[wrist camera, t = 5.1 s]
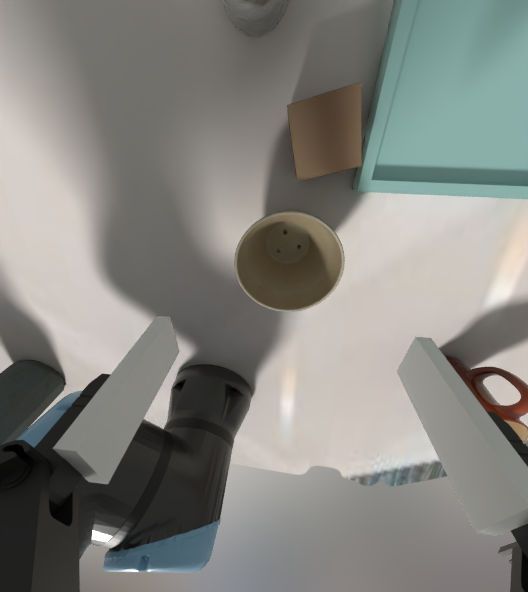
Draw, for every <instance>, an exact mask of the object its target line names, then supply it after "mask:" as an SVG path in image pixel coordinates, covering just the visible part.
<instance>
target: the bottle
mask: <svg viewBox="0 0 528 592" xmlns="http://www.w3.org/2000/svg"><path fill="white" fill-rule="evenodd" d="M63 390H64V379H63V377H62V376H61V375H59V374H58V373H57V372H56V371H55V370H54V369H52V368H50V367H48V366H46V365H44V364H42V363H40V362H36V361H32V360H29V361H20V362H16V363H13V364H12V365H11V366H9V367H8V368H7V369H5V370H4V371H3V372H2V373H0V446H1V445H3V444H5V443H8V442H11V441H14V440H16V439H17V438H18V437H19V436H20V435H21V434H22V433H24V432H25V431H26V430H27V429H28V427H29V426H30V425H31V424H32V423H33V422H34V421H35V420H36V419H37V418H38V417H39V416H40V415H41V414H42V412H43V411H44V410H45V409H46V408H47V407H48V406H49V405H50V404H51V403H52V402H53V401H54V400H55V399H56V397H57V396H58V395H59V394H60V393H61V392H62V391H63Z"/></svg>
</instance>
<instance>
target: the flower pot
mask: <svg viewBox="0 0 528 592" xmlns="http://www.w3.org/2000/svg"><path fill="white" fill-rule="evenodd" d="M284 231H285V234H284ZM298 245H300V247H299V246H298ZM279 251H280V253H278V252H279ZM234 265H235V273H236V277H237V279H238V282H239V284H240V286H241V287H242V289H243V290H244V292H245V293H246V294H247V295H248V296H249V297H250V298H251V299H252V300H254V301H255V302H256V303H258V304H260V305H262V306H264V307H266V308H269V309H272V310H276V311H283V312H294V311H300V310H305V309H308V308H310V307H313V306H315V305H317V304H319V303H320V302H322V301H323V300H324V299H326V298H327V297H328V296H329V295H330V294H331V293H332V292H333V291H334V289H335V288H336V287H337V285H338V283H339V281H340V279H341V277H342V274H343V270H344V251H343V247H342V244H341V242H340V240H339V238H338V236H337V235H336V233H335V232H334V231H333V230H332V229H331V228H330V227H329V226H328V225H327V224H326V223H325V222H323V221H322V220H320V219H319V218H317V217H315V216H313V215H311V214H308V213H305V212H301V211H294V210H287V211H279V212H275V213H272V214H269V215H267V216H265V217H263V218H262V219H260V220H259V221H257V222H256V223H255V224H253V225H252V226H251V227H250V228H249V229H248V230H247V231H246V232H245V234H244V235H243V237H242V238H241V240H240V242H239V244H238V246H237V249H236V253H235V261H234Z"/></svg>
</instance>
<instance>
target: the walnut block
mask: <svg viewBox="0 0 528 592" xmlns="http://www.w3.org/2000/svg"><path fill="white" fill-rule="evenodd" d="M287 108H288V119H289V127H290V134H291V141H292V148H293V156H294V163H295V170H296V177H297V180H298V181H302V180H306V179H310V178H314V177H318V176H323V175H327V174H331V173H335V172H339V171H343V170H347V169H351V168H355V167H360V166H361V82H359V83H356V84H353V85H350V86H347V87H344V88H340V89H337V90H334V91H331V92H328V93H325V94H321V95H318V96H315V97H312V98H309V99H306V100H302V101H299V102H296V103H293V104H290V105H287Z"/></svg>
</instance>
